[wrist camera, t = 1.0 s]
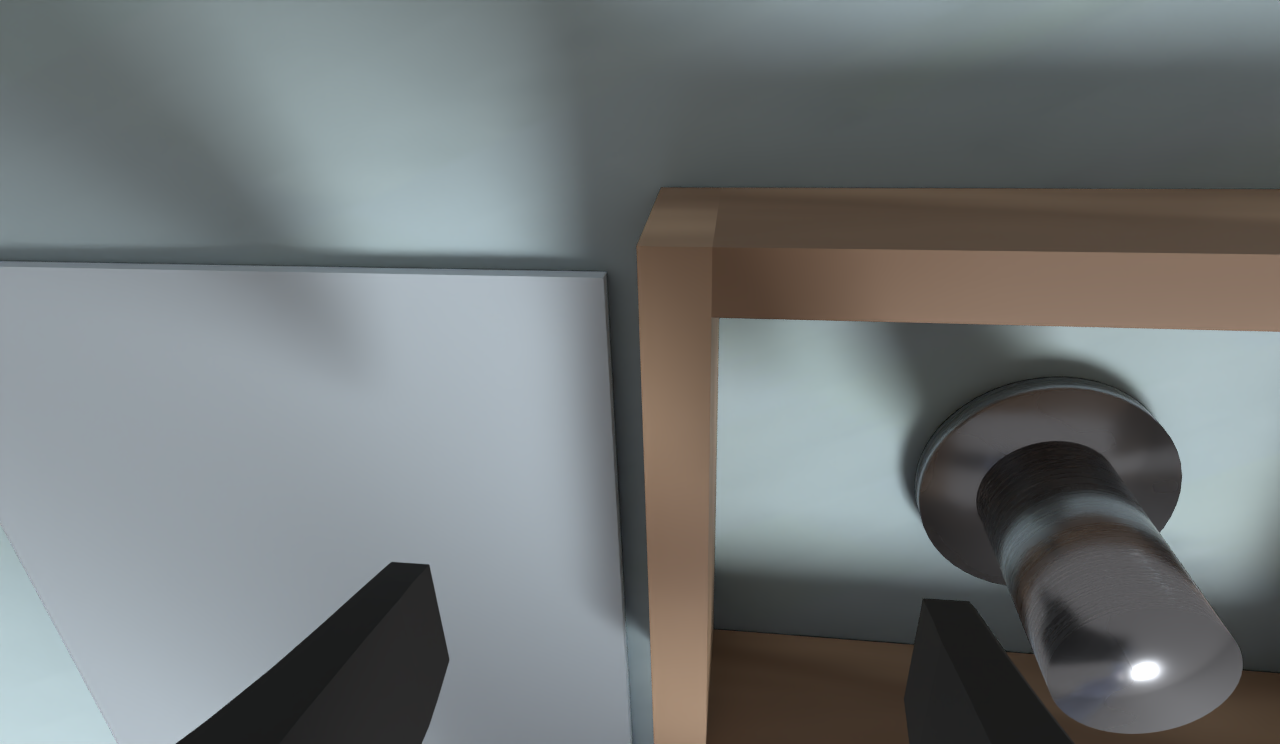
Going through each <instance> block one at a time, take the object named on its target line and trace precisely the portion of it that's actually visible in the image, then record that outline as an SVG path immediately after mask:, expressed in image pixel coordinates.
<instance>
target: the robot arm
mask: <svg viewBox="0 0 1280 744" xmlns="http://www.w3.org/2000/svg"><path fill="white" fill-rule="evenodd" d="M449 660H450V659H449V654H448V650H447V645H446V640H445V636H444V631H443V626H442V622H441V617H440V612H439V607H438V603H437V598H436V593H435V589H434V584H433V579H432V574H431V570H430V565H429V564H417V563H402V562H391V563H389V564H388V565H387V566H386V567H385V568H384V569H383V570H381V571H380V572H379V573H378V574H377V575H376V576H375V577H373V578H372V579H371V580H370V581H369V582H368V583H367V584H366V585H365V586H363V587H362V588H361V589H360V590H359V591H358V592H357V593H356V594H354V595H353V596H352V597H351V598H350V599H349V600H348V601H347V602H346V603H345V604H343V605H342V606H341V607H340V608H339V609H338V610H337V611H336V612H335V613H333V614H332V615H331V616H330V617H329V618H328V619H327V620H326V621H325V622H323V623H322V624H321V625H320V626H319V627H318V628H317V629H316V630H314V631H313V632H312V633H311V634H310V635H309V636H308V637H306V638H305V639H304V640H303V641H302V642H301V643H300V644H298V645H297V646H296V647H295V648H294V649H293V650H292V651H290V652H289V653H288V654H287V655H286V656H285V657H284V658H282V659H281V660H280V661H279V662H278V663H277V664H275V665H274V666H273V667H272V668H271V669H270V670H268V671H267V672H266V673H265V674H264V675H262V676H261V677H260V678H259V679H257V680H256V681H255V682H254V683H252V684H251V685H250V686H249V687H247V688H246V689H245V690H244V691H243V692H241V693H240V694H239V695H238V696H236V697H235V698H234V699H233V700H231V701H230V702H229V703H228V704H226V705H225V706H224V707H223V708H222V709H220V710H219V711H218V712H217V713H215V714H214V715H213V716H212V717H210V718H209V719H208V720H206V721H205V722H204V723H203V724H201V725H200V726H199V727H197V728H196V729H195V730H193V731H192V732H191V733H189V734H188V735H187V736H185V737H184V738H182V739H181V740H180V741H178V742H177V743H176V744H422V742H423V739H424V737H425V735H426V732H427V730H428V728H429V725H430V722H431V719H432V716H433V713H434V710H435V707H436V704H437V701H438V697H439V694H440V691H441V687H442V684H443V681H444V677H445V674H446V670H447V667H448V664H449ZM904 704H905V712H906V721H907V729H908V737H909V744H1075V743H1074V742H1073V741H1072V739H1071V738H1070V737H1069V736H1068V734H1067V733H1066V732H1065V731H1064V729H1063V728H1062V727H1061V725H1060V724H1059V723H1058V722H1057V720H1056V719H1055V718H1054V717H1053V715H1052V714H1051V713H1050V711H1049V710H1048V709H1047V708H1046V706H1045V705H1044V704H1043V702H1042V701H1041V700H1040V698H1039V697H1038V696H1037V694H1036V693H1035V692H1034V690H1033V689H1032V688H1031V686H1030V685H1029V684H1028V682H1027V681H1026V679H1025V678H1024V677H1023V675H1022V674H1021V673H1020V671H1019V670H1018V668H1017V667H1016V666H1015V664H1014V663H1013V662H1012V660H1011V659H1010V657H1009V656H1008V655H1007V653H1006V652H1005V650H1004V649H1003V648H1002V646H1001V645H1000V643H999V642H998V640H997V639H996V638H995V636H994V635H993V633H992V632H991V630H990V629H989V627H988V626H987V625H986V623H985V622H984V620H983V619H982V617H981V616H980V614H979V613H978V611H977V610H976V609H975V607H974V606H973V605H972V604H971V603H970V602H968V601H954V600H939V599H925V598H923V601H922V606H921V611H920V617H919V622H918V627H917V632H916V638H915V643H914V648H913V653H912V658H911V664H910V669H909V674H908V679H907V685H906V690H905V695H904Z"/></svg>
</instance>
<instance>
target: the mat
mask: <svg viewBox="0 0 1280 744" xmlns="http://www.w3.org/2000/svg"><path fill="white" fill-rule="evenodd" d="M0 524H1V526H2V528H3V530H4V532H5V534H6V536H7V538H8V539H9V541H10V543H11V545H12V547H13V549H14V551H15V553H16V554H17V556H18V558H19V560H20V562H21V564H22V566H23V568H24V569H25V571H26V573H27V575H28V577H29V579H30V581H31V583H32V584H33V586H34V588H35V590H36V592H37V594H38V596H39V598H40V599H41V601H42V603H43V605H44V607H45V609H46V611H47V613H48V614H49V616H50V618H51V620H52V622H53V624H54V626H55V628H56V629H57V631H58V633H59V635H60V637H61V639H62V641H63V643H64V644H65V646H66V648H67V650H68V652H69V654H70V656H71V658H72V659H73V661H74V663H75V665H76V667H77V669H78V671H79V673H80V675H81V676H82V678H83V680H84V682H85V684H86V686H87V688H88V690H89V691H90V693H91V695H92V697H93V699H94V701H95V703H96V705H97V706H98V708H99V710H100V712H101V714H102V716H103V718H104V720H105V721H106V723H107V725H108V727H109V729H110V731H111V733H112V735H113V736H114V738H115V740H116V742H117V744H176V743H177V742H178V741H180V740H181V739H182V738H184V737H185V736H187V735H188V734H189V733H191V732H192V731H193V730H195V729H196V728H197V727H199V726H200V725H201V724H203V723H204V722H205V721H206V720H208V719H209V718H210V717H212V716H213V715H214V714H215V713H217V712H218V711H219V710H220V709H222V708H223V707H224V706H225V705H226V704H228V703H229V702H230V701H231V700H233V699H234V698H235V697H236V696H238V695H239V694H240V693H241V692H243V691H244V690H245V689H246V688H247V687H249V686H250V685H251V684H252V683H254V682H255V681H256V680H257V679H259V678H260V677H261V676H262V675H264V674H265V673H266V672H267V671H268V670H270V669H271V668H272V667H273V666H274V665H275V664H277V663H278V662H279V661H280V660H281V659H282V658H284V657H285V656H286V655H287V654H288V653H289V652H290V651H292V650H293V649H294V648H295V647H296V646H297V645H298V644H300V643H301V642H302V641H303V640H304V639H305V638H306V637H308V636H309V635H310V634H311V633H312V632H313V631H314V630H316V629H317V628H318V627H319V626H320V625H321V624H322V623H323V622H325V621H326V620H327V619H328V618H329V617H330V616H331V615H332V614H333V613H335V612H336V611H337V610H338V609H339V608H340V607H341V606H342V605H343V604H345V603H346V602H347V601H348V600H349V599H350V598H351V597H352V596H353V595H354V594H356V593H357V592H358V591H359V590H360V589H361V588H362V587H363V586H365V585H366V584H367V583H368V582H369V581H370V580H371V579H372V578H373V577H375V576H376V575H377V574H378V573H379V572H380V571H381V570H383V569H384V568H385V567H386V566H387V565H388V564H389V563H391V562H402V563H417V564H429V565H430V570H431V574H432V579H433V584H434V589H435V593H436V598H437V603H438V607H439V612H440V617H441V622H442V626H443V631H444V636H445V640H446V645H447V650H448V654H449V659H450V660H449V664H448V667H447V670H446V674H445V677H444V681H443V684H442V687H441V691H440V694H439V697H438V701H437V704H436V707H435V710H434V713H433V716H432V719H431V722H430V725H429V728H428V730H427V732H426V735H425V737H424V739H423V742H422V744H632V728H631V710H630V692H629V673H628V655H627V637H626V619H625V601H624V583H623V565H622V547H621V528H620V510H619V492H618V474H617V456H616V438H615V420H614V402H613V383H612V365H611V347H610V329H609V311H608V293H607V275H606V272H594V271H537V270H479V269H422V268H364V267H307V266H250V265H192V264H135V263H77V262H20V261H0Z"/></svg>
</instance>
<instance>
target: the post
mask: <svg viewBox="0 0 1280 744" xmlns="http://www.w3.org/2000/svg"><path fill="white" fill-rule="evenodd" d="M1181 481H1182V472H1181V463H1180V459H1179V455H1178V452H1177V449H1176V447H1175V445H1174V443H1173V441H1172V439H1171V438H1170V436H1169V435H1168V434H1167V432H1166V431H1165V430H1164V428H1163V427H1162V426H1161V425H1160V424H1159V423H1158V421H1157V420H1156V419H1155V418H1154V417H1153V416H1152V414H1151V413H1150V412H1149V411H1148V410H1147V409H1146V408H1145V407H1144V406H1142V405H1141V404H1140V403H1139V402H1138V401H1136V400H1135V399H1133V398H1132V397H1131V396H1129V395H1128V394H1126V393H1124V392H1122V391H1120V390H1118V389H1116V388H1114V387H1111V386H1108V385H1105V384H1102V383H1099V382H1095V381H1090V380H1086V379H1080V378H1069V377H1046V378H1038V379H1030V380H1025V381H1021V382H1016V383H1012V384H1009V385H1006V386H1003V387H1000V388H997V389H994V390H992V391H990V392H988V393H986V394H984V395H981V396H979V397H978V398H976V399H974V400H973V401H971V402H969V403H968V404H966V405H964V406H963V407H962V408H960V409H959V410H958V411H956V412H955V413H954V414H952V415H951V416H950V417H949V418H948V419H947V420H946V421H945V422H944V423H943V424H942V425H941V426H940V427H939V428H938V430H937V431H936V432H935V433H934V435H933V436H932V437H931V439H930V440H929V442H928V444H927V445H926V447H925V449H924V451H923V453H922V455H921V458H920V460H919V463H918V467H917V471H916V476H915V496H916V501H917V505H918V509H919V513H920V516H921V519H922V523H923V526H924V528H925V531H926V533H927V535H928V537H929V539H930V540H931V542H932V543H933V545H934V546H935V548H936V549H937V550H938V551H939V552H940V553H941V554H942V555H943V556H944V557H945V558H946V559H947V560H949V561H950V562H951V563H952V564H953V565H955V566H957V567H958V568H960V569H961V570H963V571H965V572H967V573H969V574H971V575H973V576H975V577H977V578H980V579H983V580H986V581H989V582H992V583H997V584H1002V585H1006V586H1007V587H1008V590H1009V592H1010V595H1011V597H1012V600H1013V602H1014V605H1015V607H1016V610H1017V612H1018V615H1019V617H1020V620H1021V622H1022V625H1023V627H1024V630H1025V632H1026V635H1027V637H1028V640H1029V642H1030V645H1031V647H1032V650H1033V652H1034V655H1035V657H1036V660H1037V662H1038V665H1039V667H1040V670H1041V672H1042V675H1043V677H1044V680H1045V682H1046V685H1047V687H1048V690H1049V692H1050V694H1051V697H1052V699H1053V700H1054V702H1055V703H1056V705H1057V706H1058V707H1059V708H1060V709H1061V710H1062V711H1063V712H1064V713H1065V714H1066V715H1068V716H1069V717H1070V718H1072V719H1074V720H1075V721H1077V722H1079V723H1081V724H1084V725H1086V726H1089V727H1092V728H1095V729H1098V730H1102V731H1107V732H1114V733H1124V734H1142V733H1152V732H1159V731H1164V730H1169V729H1173V728H1176V727H1180V726H1183V725H1185V724H1188V723H1191V722H1193V721H1195V720H1197V719H1199V718H1202V717H1203V716H1205V715H1207V714H1208V713H1210V712H1212V711H1213V710H1214V709H1216V708H1217V707H1219V706H1220V705H1221V704H1222V703H1223V702H1224V701H1225V700H1226V699H1227V698H1228V697H1229V696H1230V695H1231V694H1232V692H1233V691H1234V690H1235V688H1236V686H1237V684H1238V683H1239V680H1240V677H1241V675H1242V669H1243V658H1242V654H1241V650H1240V648H1239V646H1238V644H1237V642H1236V641H1235V640H1234V638H1233V637H1232V635H1231V634H1230V632H1229V631H1228V630H1227V628H1226V627H1225V625H1224V624H1223V622H1222V621H1221V620H1220V618H1219V617H1218V615H1217V614H1216V613H1215V611H1214V610H1213V608H1212V607H1211V605H1210V604H1209V603H1208V601H1207V600H1206V598H1205V597H1204V595H1203V594H1202V593H1201V591H1200V590H1199V588H1198V587H1197V586H1196V584H1195V583H1194V581H1193V580H1192V578H1191V577H1190V576H1189V574H1188V573H1187V571H1186V570H1185V568H1184V567H1183V566H1182V564H1181V563H1180V561H1179V560H1178V558H1177V557H1176V556H1175V554H1174V553H1173V551H1172V550H1171V549H1170V547H1169V546H1168V544H1167V543H1166V541H1165V540H1164V539H1163V537H1162V536H1161V534H1160V531H1161V530H1162V529H1163V528H1164V526H1165V525H1166V523H1167V522H1168V520H1169V519H1170V517H1171V515H1172V513H1173V511H1174V509H1175V506H1176V504H1177V501H1178V498H1179V494H1180V491H1181Z"/></svg>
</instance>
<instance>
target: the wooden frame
mask: <svg viewBox="0 0 1280 744" xmlns="http://www.w3.org/2000/svg"><path fill="white" fill-rule="evenodd" d="M636 249H637V278H638V306H639V335H640V363H641V391H642V420H643V448H644V477H645V505H646V533H647V562H648V590H649V619H650V647H651V676H652V704H653V732H654V744H909V737H908V729H907V721H906V712H905V704H904V695H905V690H906V685H907V679H908V674H909V669H910V664H911V658H912V653H913V648H914V645H910V644H897V643H884V642H871V641H858V640H845V639H833V638H820V637H807V636H794V635H781V634H768V633H755V632H743V631H730V630H717V629H713V625H714V570H715V515H716V460H717V404H718V349H719V318H750V319H791V320H831V321H871V322H911V323H951V324H991V325H1032V326H1072V327H1112V328H1152V329H1192V330H1232V331H1273V332H1280V189H1032V188H675V187H661V189H660V191H659V193H658V196H657V198H656V201H655V203H654V205H653V208H652V210H651V213H650V215H649V217H648V220H647V222H646V224H645V227H644V229H643V232H642V234H641V236H640V239H639V241H638V244H637V246H636ZM1006 653H1007V655H1008V656H1009V657H1010V659H1011V660H1012V662H1013V663H1014V664H1015V666H1016V667H1017V668H1018V670H1019V671H1020V673H1021V674H1022V675H1023V677H1024V678H1025V679H1026V681H1027V682H1028V684H1029V685H1030V686H1031V688H1032V689H1033V690H1034V692H1035V693H1036V694H1037V696H1038V697H1039V698H1040V700H1041V701H1042V702H1043V704H1044V705H1045V706H1046V708H1047V709H1048V710H1049V711H1050V713H1051V714H1052V715H1053V717H1054V718H1055V719H1056V720H1057V722H1058V723H1059V724H1060V725H1061V727H1062V728H1063V729H1064V731H1065V732H1066V733H1067V734H1068V736H1069V737H1070V738H1071V739H1072V741H1073V742H1074V743H1075V744H1280V673H1269V672H1256V671H1243V670H1242V675H1241V677H1240V680H1239V683H1238V684H1237V686H1236V688H1235V690H1234V691H1233V692H1232V694H1231V695H1230V696H1229V697H1228V698H1227V699H1226V700H1225V701H1224V702H1223V703H1222V704H1221V705H1220V706H1219V707H1217V708H1216V709H1214V710H1213V711H1212V712H1210V713H1208V714H1207V715H1205V716H1203V717H1202V718H1199V719H1197V720H1195V721H1193V722H1191V723H1188V724H1185V725H1183V726H1180V727H1176V728H1173V729H1169V730H1164V731H1159V732H1152V733H1142V734H1124V733H1114V732H1107V731H1102V730H1098V729H1095V728H1092V727H1089V726H1086V725H1084V724H1081V723H1079V722H1077V721H1075V720H1074V719H1072V718H1070V717H1069V716H1068V715H1066V714H1065V713H1064V712H1063V711H1062V710H1061V709H1060V708H1059V707H1058V706H1057V705H1056V703H1055V702H1054V700H1053V699H1052V697H1051V694H1050V692H1049V690H1048V687H1047V685H1046V682H1045V680H1044V677H1043V675H1042V672H1041V670H1040V667H1039V665H1038V662H1037V660H1036V657H1035V655H1034V654H1025V653H1012V652H1006Z"/></svg>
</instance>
